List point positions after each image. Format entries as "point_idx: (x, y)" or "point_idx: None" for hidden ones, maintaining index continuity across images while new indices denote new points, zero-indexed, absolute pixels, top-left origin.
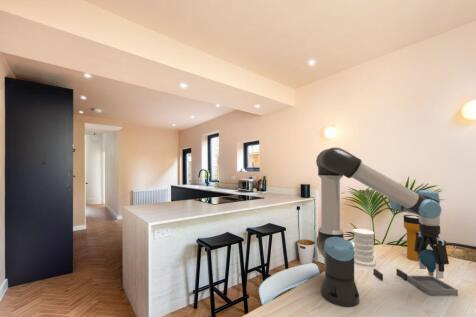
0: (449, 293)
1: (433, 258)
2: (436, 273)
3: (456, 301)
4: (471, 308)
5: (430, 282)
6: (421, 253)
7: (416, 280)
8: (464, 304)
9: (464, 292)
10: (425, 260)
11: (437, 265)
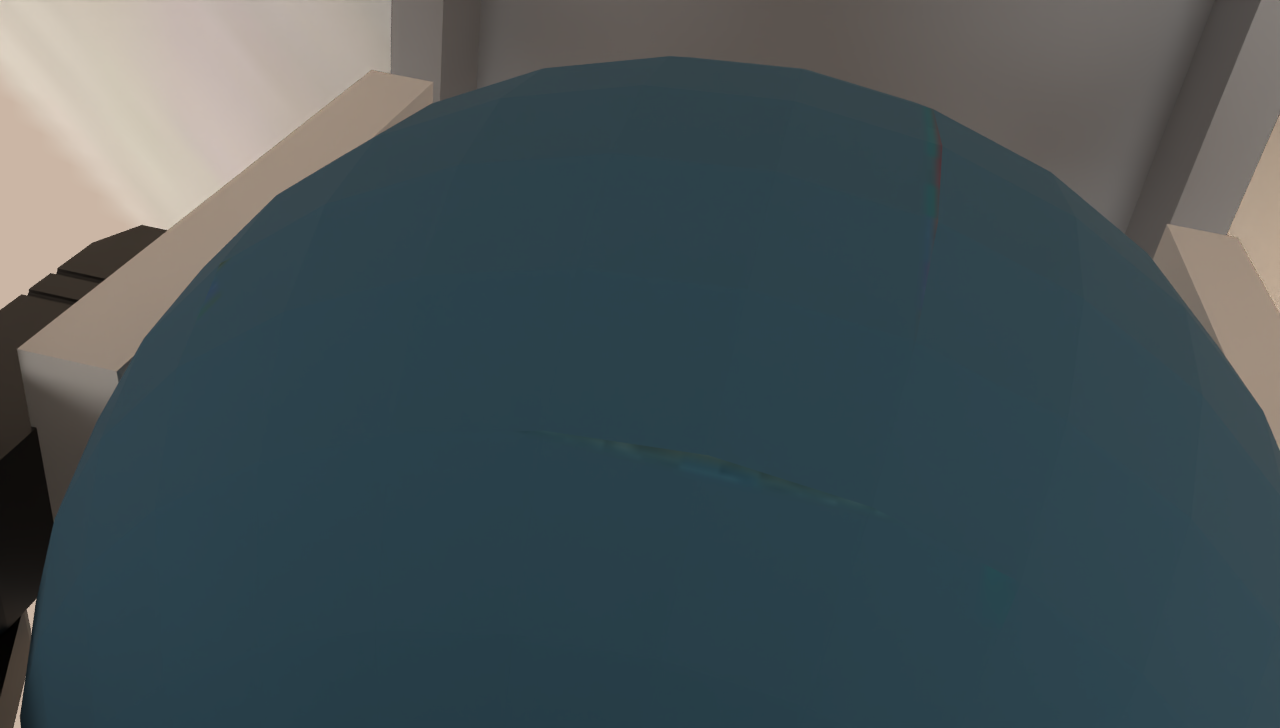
0: None
1: (68, 514)
2: (343, 140)
3: (230, 56)
4: (10, 85)
5: None
6: (909, 487)
7: (1210, 2)
8: (134, 102)
9: None
10: (479, 113)
11: (80, 309)
